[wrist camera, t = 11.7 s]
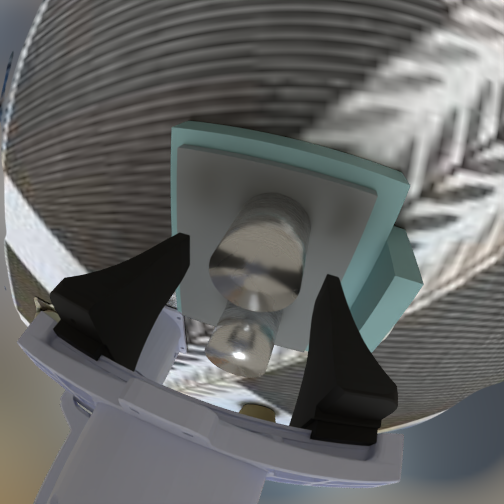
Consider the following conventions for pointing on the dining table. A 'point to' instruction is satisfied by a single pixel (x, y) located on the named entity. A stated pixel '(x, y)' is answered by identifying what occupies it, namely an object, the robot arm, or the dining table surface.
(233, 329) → the cylinder
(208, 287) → the pan
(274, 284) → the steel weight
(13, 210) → the dining table surface
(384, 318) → the scale
